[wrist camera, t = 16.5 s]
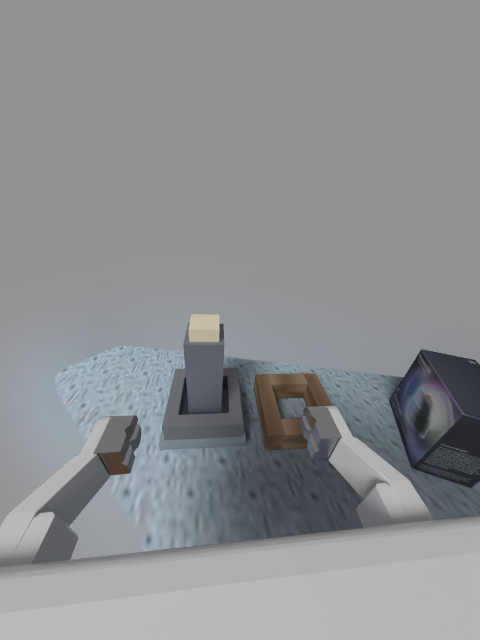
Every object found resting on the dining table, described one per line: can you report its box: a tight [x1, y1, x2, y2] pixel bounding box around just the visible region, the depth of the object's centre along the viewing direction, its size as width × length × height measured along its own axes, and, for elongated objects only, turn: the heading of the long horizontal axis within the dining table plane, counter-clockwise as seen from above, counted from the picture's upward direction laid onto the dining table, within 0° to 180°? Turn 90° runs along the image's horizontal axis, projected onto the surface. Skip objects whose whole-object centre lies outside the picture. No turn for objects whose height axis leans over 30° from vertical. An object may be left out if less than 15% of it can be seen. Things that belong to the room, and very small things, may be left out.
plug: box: [184, 314, 224, 414], centre depth 26 cm, size 4×4×14 cm
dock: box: [159, 369, 246, 450], centre depth 29 cm, size 10×10×4 cm
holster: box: [254, 374, 332, 450], centre depth 30 cm, size 9×9×3 cm
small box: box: [390, 350, 480, 488], centre depth 26 cm, size 11×6×10 cm, turn 162°
